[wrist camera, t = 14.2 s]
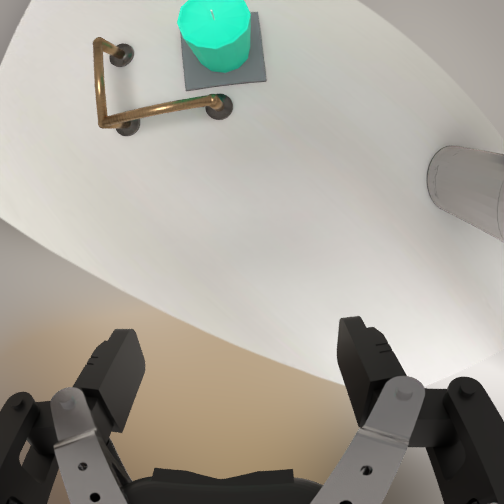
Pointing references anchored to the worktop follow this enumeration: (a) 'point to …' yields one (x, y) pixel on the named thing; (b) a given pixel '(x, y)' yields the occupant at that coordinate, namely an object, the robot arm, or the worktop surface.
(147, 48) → the worktop surface
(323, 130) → the worktop surface
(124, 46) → the handrail
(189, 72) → the coaster
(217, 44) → the candle
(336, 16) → the worktop surface
